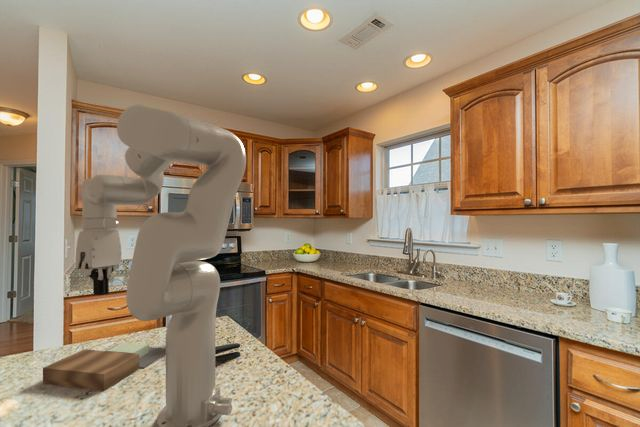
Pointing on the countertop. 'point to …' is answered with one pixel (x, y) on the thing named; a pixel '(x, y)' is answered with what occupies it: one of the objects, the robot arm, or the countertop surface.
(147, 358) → the mat
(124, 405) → the countertop surface
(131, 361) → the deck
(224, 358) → the can opener
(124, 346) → the pale green flat block
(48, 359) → the countertop surface
